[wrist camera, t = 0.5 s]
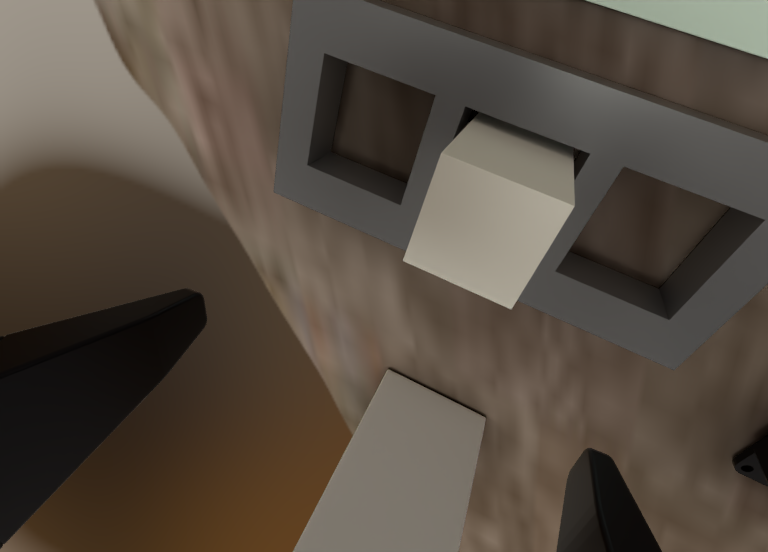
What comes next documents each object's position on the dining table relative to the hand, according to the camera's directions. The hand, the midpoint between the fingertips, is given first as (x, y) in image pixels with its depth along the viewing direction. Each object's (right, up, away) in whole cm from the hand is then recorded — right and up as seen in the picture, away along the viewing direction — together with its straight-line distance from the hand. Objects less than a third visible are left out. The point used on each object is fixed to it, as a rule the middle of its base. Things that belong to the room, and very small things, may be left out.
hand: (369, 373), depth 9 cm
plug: (+6, +7, +9) cm, 13 cm away
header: (+6, +7, +9) cm, 13 cm away
